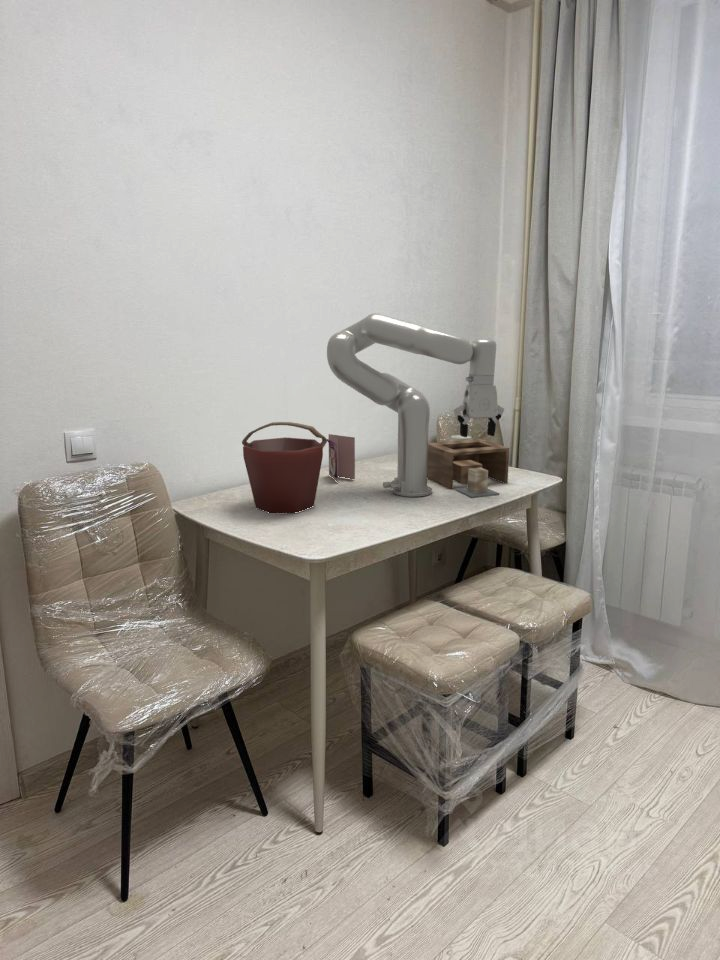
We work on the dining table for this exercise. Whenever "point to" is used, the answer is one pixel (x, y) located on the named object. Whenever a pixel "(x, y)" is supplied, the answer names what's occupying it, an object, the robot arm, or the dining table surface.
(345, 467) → the greeting card
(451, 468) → the slot box
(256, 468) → the bucket
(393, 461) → the dining table surface
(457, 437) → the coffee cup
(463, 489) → the slate mat
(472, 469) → the birch block
